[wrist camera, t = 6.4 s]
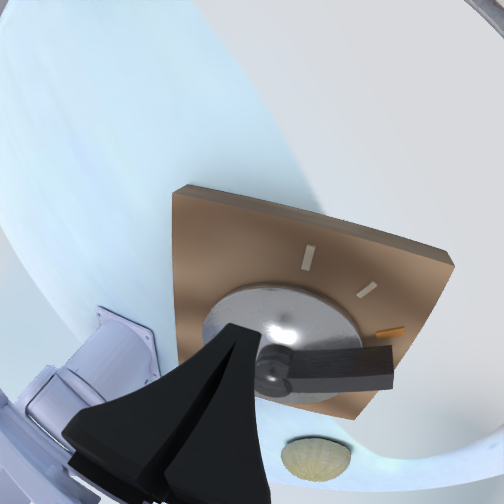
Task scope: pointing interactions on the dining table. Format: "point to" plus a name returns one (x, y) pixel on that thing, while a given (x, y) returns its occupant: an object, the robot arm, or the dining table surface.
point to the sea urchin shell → (315, 459)
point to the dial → (302, 343)
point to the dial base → (301, 271)
